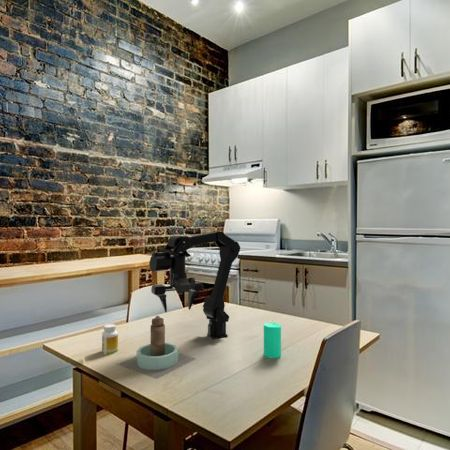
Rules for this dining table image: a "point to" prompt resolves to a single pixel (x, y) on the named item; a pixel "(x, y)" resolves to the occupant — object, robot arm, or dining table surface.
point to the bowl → (157, 357)
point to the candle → (272, 340)
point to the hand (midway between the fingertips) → (177, 310)
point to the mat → (156, 373)
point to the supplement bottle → (109, 339)
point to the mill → (157, 337)
